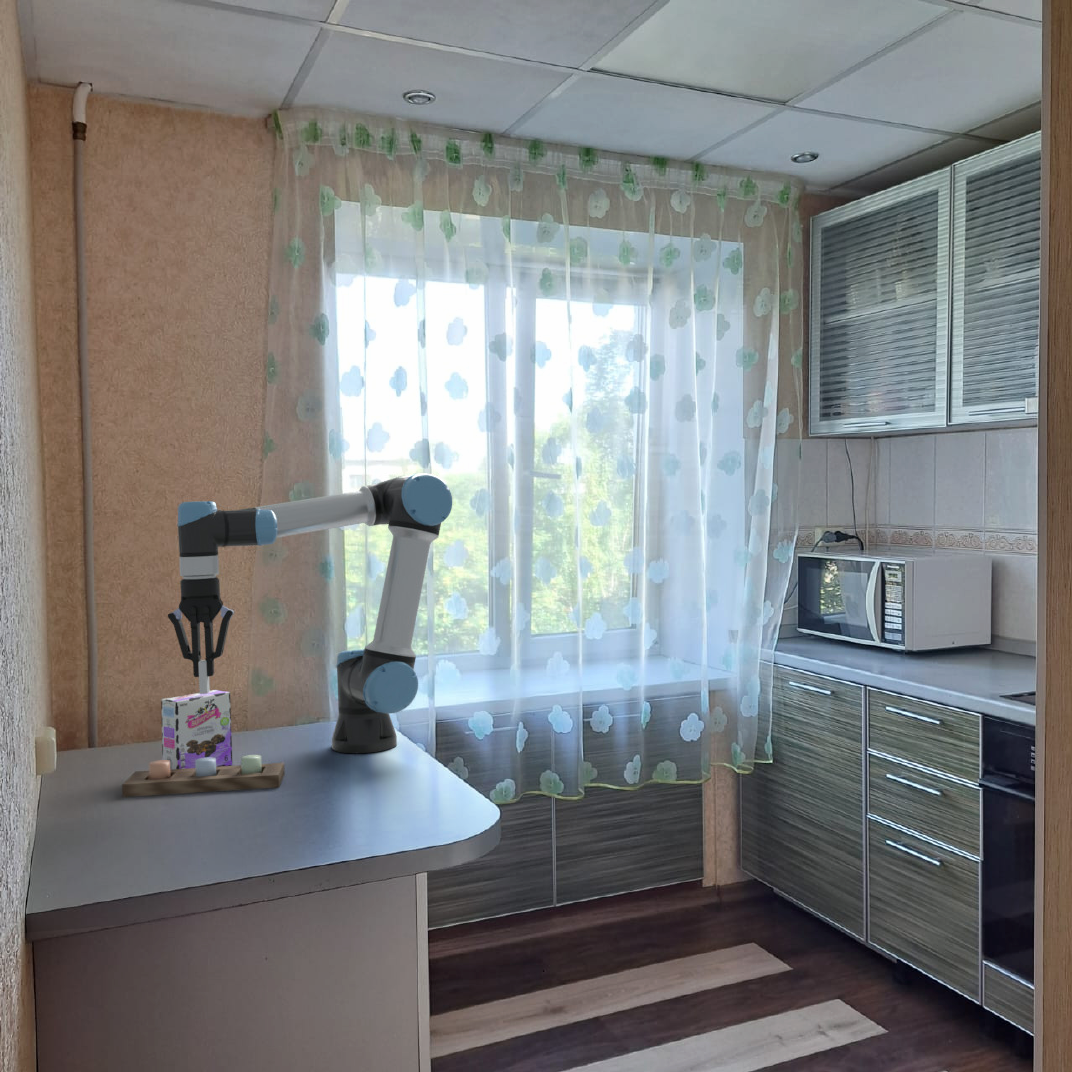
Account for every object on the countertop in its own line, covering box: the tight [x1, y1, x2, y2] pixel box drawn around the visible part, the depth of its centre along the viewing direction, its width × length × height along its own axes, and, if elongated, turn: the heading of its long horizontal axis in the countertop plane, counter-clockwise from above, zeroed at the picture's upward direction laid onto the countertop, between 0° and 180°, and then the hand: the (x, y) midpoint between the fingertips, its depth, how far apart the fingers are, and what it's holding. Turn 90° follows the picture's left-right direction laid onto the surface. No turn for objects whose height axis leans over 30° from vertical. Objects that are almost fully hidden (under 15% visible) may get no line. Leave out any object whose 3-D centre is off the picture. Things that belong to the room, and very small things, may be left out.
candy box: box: [160, 689, 233, 769], centre depth 212 cm, size 14×6×16 cm, turn 143°
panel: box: [121, 762, 286, 798], centre depth 199 cm, size 30×10×2 cm, turn 98°
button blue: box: [195, 757, 216, 777], centre depth 199 cm, size 4×4×4 cm
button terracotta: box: [148, 759, 171, 780], centre depth 198 cm, size 4×4×4 cm
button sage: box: [240, 754, 262, 774], centre depth 200 cm, size 4×4×4 cm
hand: (204, 692), depth 199 cm, fingers closed
